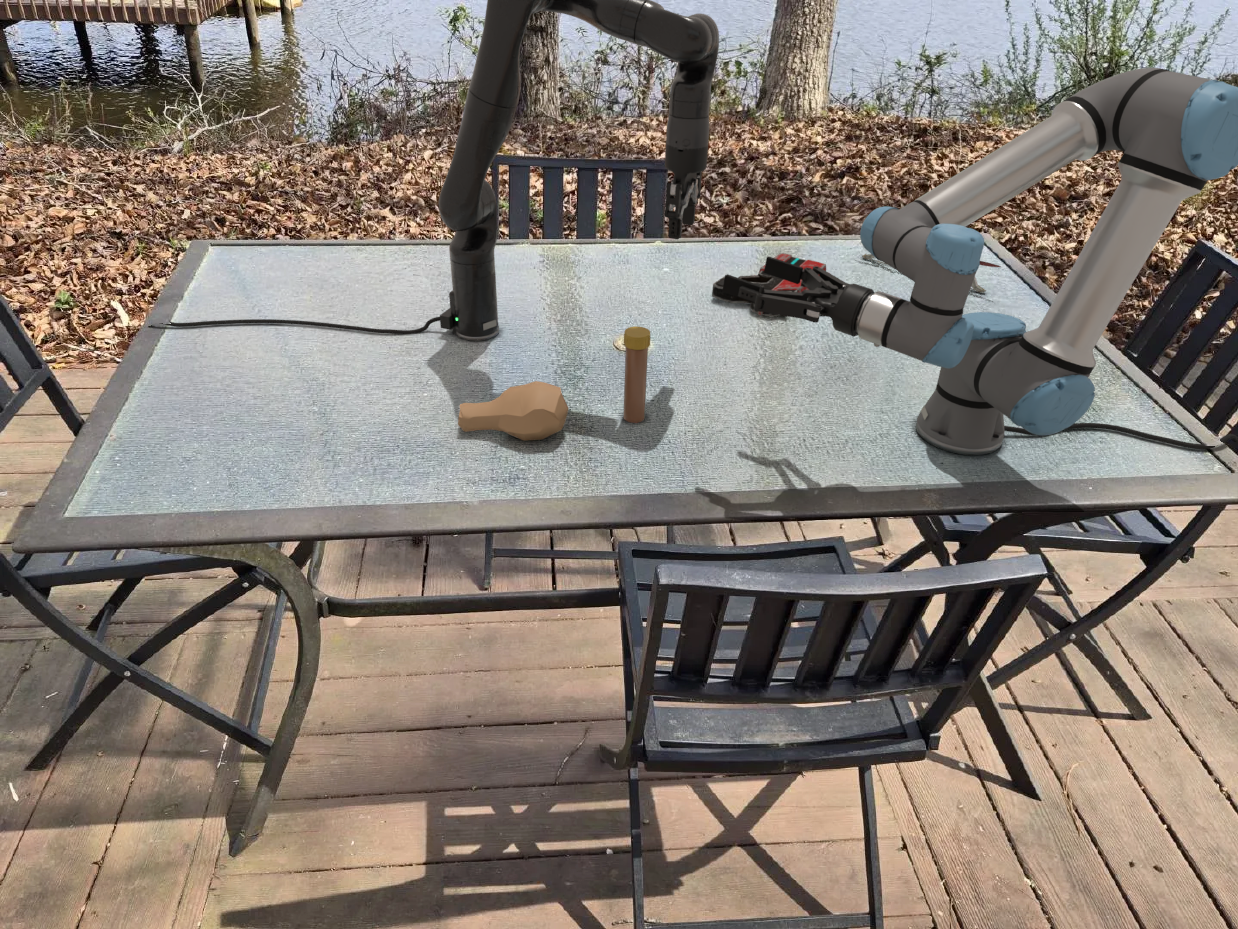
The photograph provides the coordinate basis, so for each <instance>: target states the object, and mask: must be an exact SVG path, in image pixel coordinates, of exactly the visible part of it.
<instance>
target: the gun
mask: <svg viewBox="0 0 1238 929" xmlns="http://www.w3.org/2000/svg"><path fill="white" fill-rule="evenodd" d="M773 258H775V259H778V260H782V261H785V262H788V263H791V264H794V265H797V266H800V267H803V269H805V268H807V267H808V268H811V269H813V266H818V267H820V268H821V269H823V270H825V271H827V264H826V263H823V262H820V261H816V260H812V259H802V258H799V257H795V256H793V255H792V254H791V253H784V252H780V253H778V254H777V255H775V256H774V257H773ZM764 269H765V264H763V265H762V266H761V267H760V269H759V271H758V273H757V274H756V275H753V274H752V275H751V274H750V275H740V276H738V277H737V278H740V279H743V280H746V281H749V282H751V283H754V284H757V285H763V286H764V290H776V291H788V292H802V291H803V290H809V289H808V288H807V287H801V282H802V280H800V283H799V284H796V283H793V282H790V281H787V280H784V279H781V278H778V277H775V276H772V275H769V274H766V273H764ZM819 276H820V275H819ZM724 279H725V275H724V276H722V277H720V279H717V281H715V282H713V283H712V291H711V297H713V298H714V299H716V300H719V301H723V302H727V303H730V304H750V305H749V308H750V310H751V312H753V313H755V314H757V315H758V316H760V317H761V316H765V317H770V318H771V317H777V316H778V315H777V314H771V313H765V312H759V311H755V310H754V306H755V303H753V302H750V301H747V300H744V299H742V298H739V297H736V296H733V295H730V294H728V293H725V292H722V290H723V284H724ZM779 316H780V317H784V318H787V317H788V316H783V315H779Z"/></svg>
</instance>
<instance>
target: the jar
mask: <svg viewBox="0 0 1238 929" xmlns="http://www.w3.org/2000/svg"><path fill="white" fill-rule="evenodd" d="M624 353H625V354H624V358H625V359H624V380H623V382H624V383H623V384H624V385H623V412H622V415H623V417H622V418H623V420H624V421H625V422H628V423H631V424H638V423H641V422H643V421H644V420H645V419H646V399H647V380H648V378H647V375H648V357H649V347H648V348H646V349H643V350H633V349H629V348H627V347H626V346H625V352H624Z"/></svg>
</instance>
